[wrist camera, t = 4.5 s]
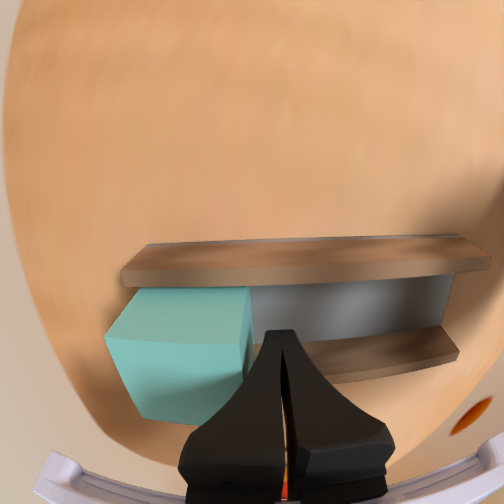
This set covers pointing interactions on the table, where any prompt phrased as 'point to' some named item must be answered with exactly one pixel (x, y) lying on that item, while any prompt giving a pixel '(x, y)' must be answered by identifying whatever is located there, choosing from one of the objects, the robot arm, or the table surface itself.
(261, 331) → the chute
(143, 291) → the block
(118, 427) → the table surface
